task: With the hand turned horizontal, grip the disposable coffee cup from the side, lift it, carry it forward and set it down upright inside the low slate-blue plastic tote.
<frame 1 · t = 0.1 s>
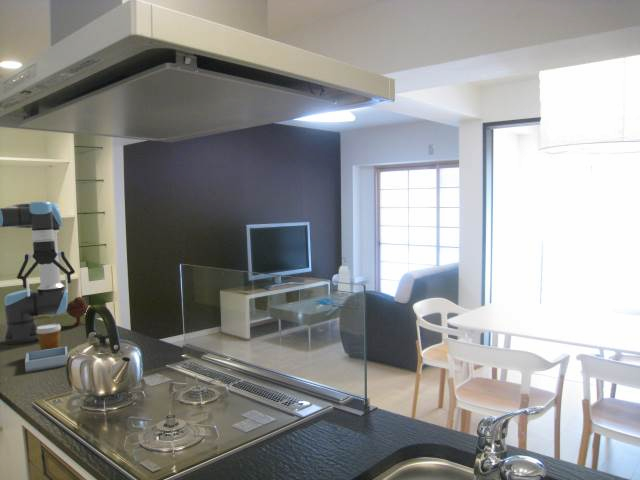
hand: (48, 293, 200), 28 cm above the worktop, tool pointing down, fingers open, 13 cm apart
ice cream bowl: (78, 325, 266), on the worktop
tote: (47, 363, 201), on the worktop
disposable coffee cup: (50, 354, 214), on the worktop
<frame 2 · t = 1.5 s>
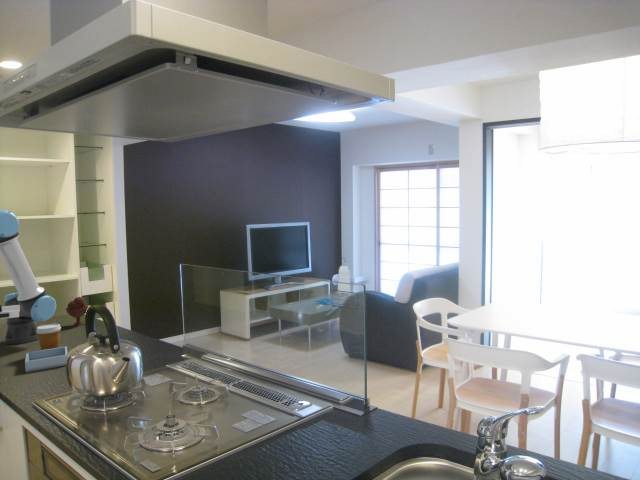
hand: (19, 310, 208), 20 cm above the worktop, tool horizontal, fingers open, 13 cm apart
nothing on the worktop moved.
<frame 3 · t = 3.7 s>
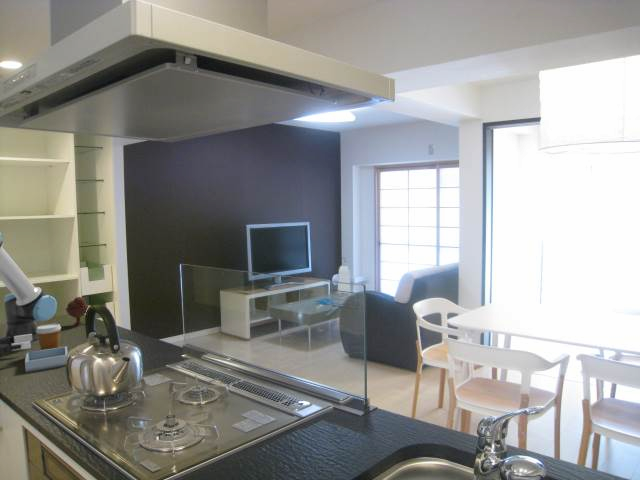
hand: (31, 340, 210), 7 cm above the worktop, tool horizontal, fingers open, 13 cm apart
nothing on the worktop moved.
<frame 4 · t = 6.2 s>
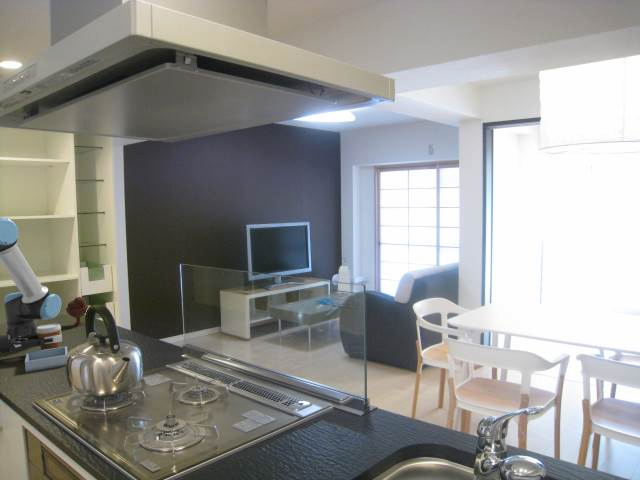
hand: (61, 335, 216), 7 cm above the worktop, tool horizontal, fingers closed on disposable coffee cup, 8 cm apart
disposable coffee cup: (50, 354, 214), on the worktop, touching gripper
everything else where it was.
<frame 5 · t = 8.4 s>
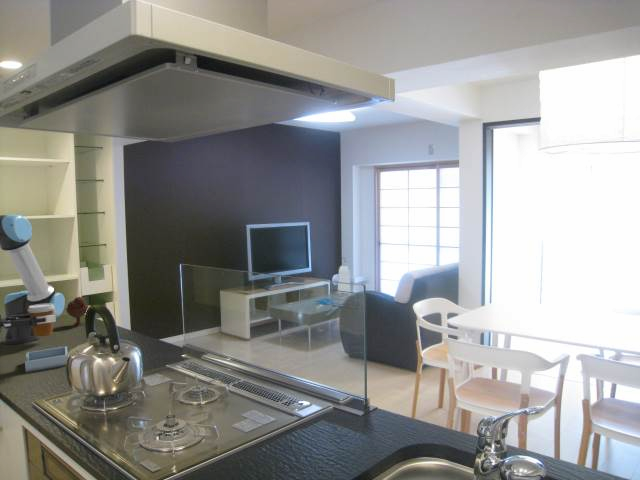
hand: (55, 316, 202), 18 cm above the worktop, tool horizontal, fingers closed on disposable coffee cup, 8 cm apart
disposable coffee cup: (43, 335, 200), point 11 cm above the worktop, touching gripper
everything else where it was.
when the fingers open (9 cm above the worktop, at t = 10.6 s): disposable coffee cup drops 1 cm, resting on tote.
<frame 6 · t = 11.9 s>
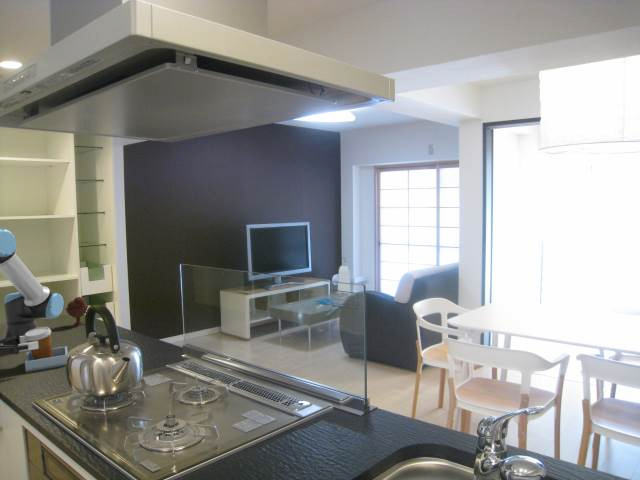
hand: (38, 340, 199), 10 cm above the worktop, tool horizontal, fingers open, 13 cm apart
disposable coffee cup: (44, 359, 203), point 1 cm above the worktop, touching tote
everything else where it was.
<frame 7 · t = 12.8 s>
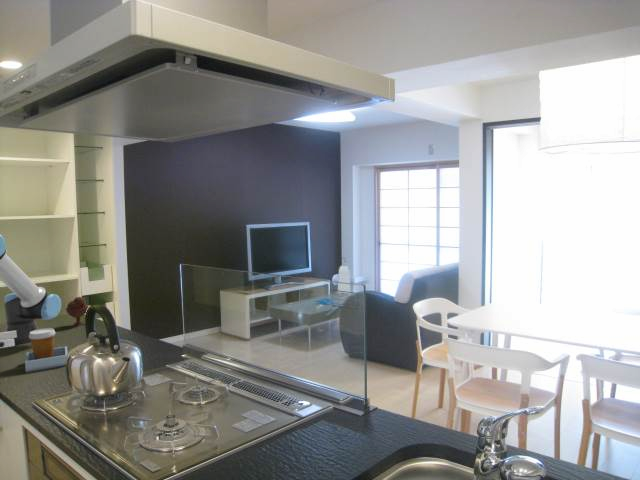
hand: (15, 337, 195), 12 cm above the worktop, tool horizontal, fingers open, 13 cm apart
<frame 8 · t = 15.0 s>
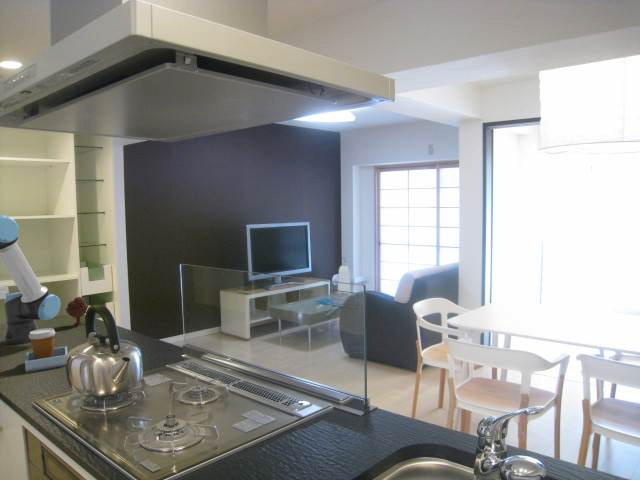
hand: (7, 292, 195), 30 cm above the worktop, tool horizontal, fingers open, 13 cm apart
at the end: disposable coffee cup inside the target area on the tote (3.1 cm from its centre), point 0.6 cm above the tote's base; disposable coffee cup tilted 0°; the gripper is holding nothing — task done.
